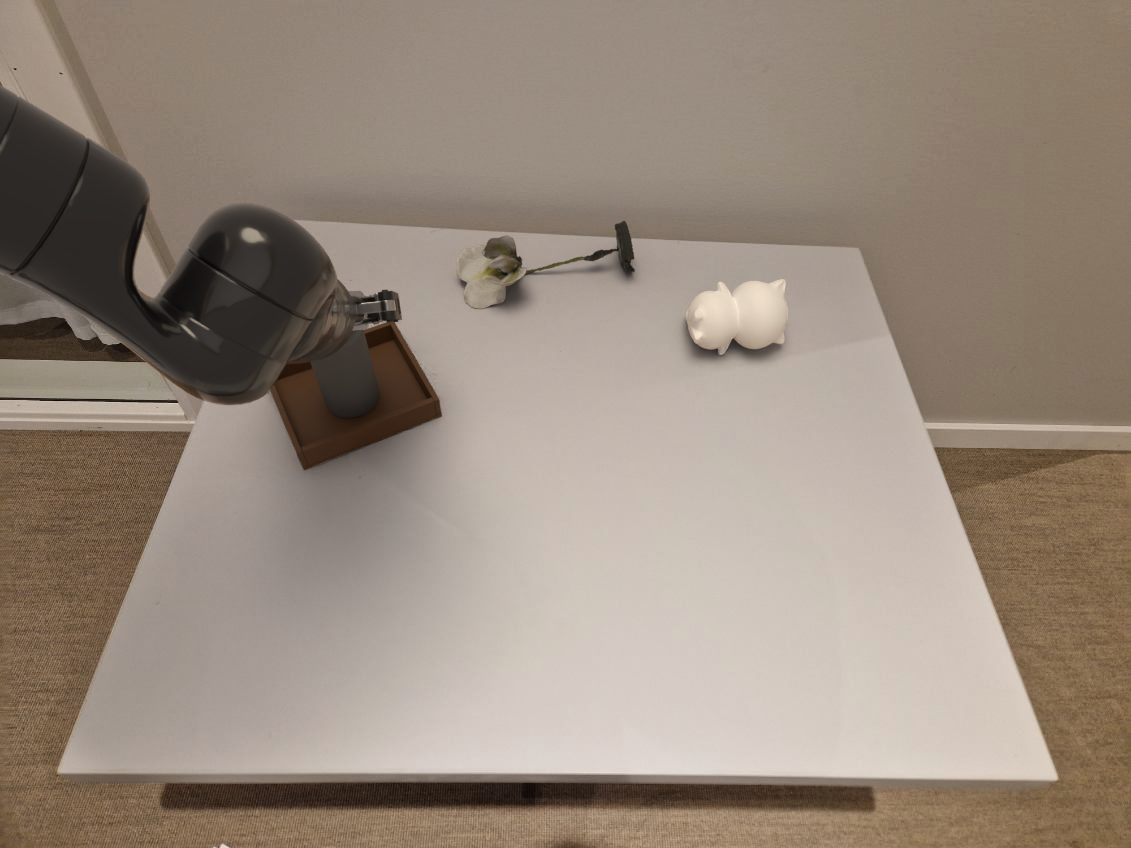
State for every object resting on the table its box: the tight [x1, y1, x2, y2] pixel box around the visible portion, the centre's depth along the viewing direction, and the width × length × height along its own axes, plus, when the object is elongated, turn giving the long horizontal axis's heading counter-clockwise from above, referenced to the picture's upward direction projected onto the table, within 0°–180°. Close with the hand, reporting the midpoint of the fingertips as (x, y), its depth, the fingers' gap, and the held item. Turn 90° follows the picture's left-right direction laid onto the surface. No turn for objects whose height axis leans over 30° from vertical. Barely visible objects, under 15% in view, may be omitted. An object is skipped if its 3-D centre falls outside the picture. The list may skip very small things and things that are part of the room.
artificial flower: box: [455, 220, 636, 310], centre depth 90 cm, size 9×22×10 cm, turn 102°
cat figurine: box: [684, 278, 789, 356], centre depth 86 cm, size 9×11×12 cm
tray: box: [269, 321, 443, 471], centre depth 79 cm, size 15×13×3 cm
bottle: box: [310, 329, 379, 418], centre depth 73 cm, size 6×6×15 cm
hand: (328, 316), depth 70 cm, fingers open, 8 cm apart
